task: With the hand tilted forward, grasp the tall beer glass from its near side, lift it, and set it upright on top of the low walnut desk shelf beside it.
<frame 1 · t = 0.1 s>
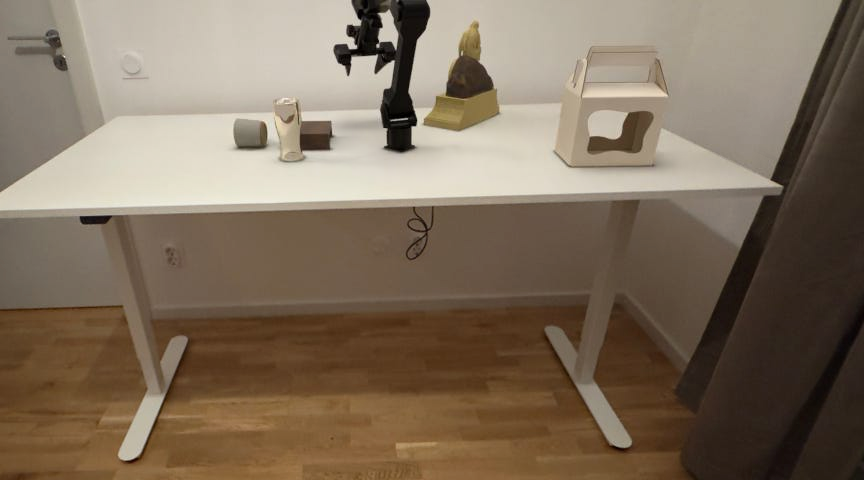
hand: (361, 74, 168), 15 cm above the table, tool tilted 35°, fingers open, 9 cm apart
desk shelf: (312, 142, 155), on the table
tan and brown statue: (462, 119, 179), on the table
gable box: (601, 158, 143), on the table
beer glass: (292, 158, 143), on the table
ceramic mug: (252, 145, 154), on the table
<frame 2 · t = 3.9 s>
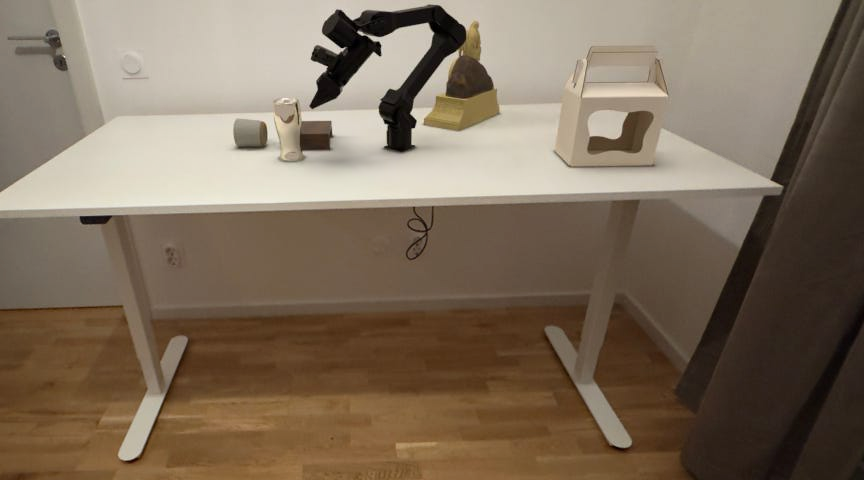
hand: (314, 103, 139), 14 cm above the table, tool tilted 45°, fingers open, 9 cm apart
nothing on the table moved.
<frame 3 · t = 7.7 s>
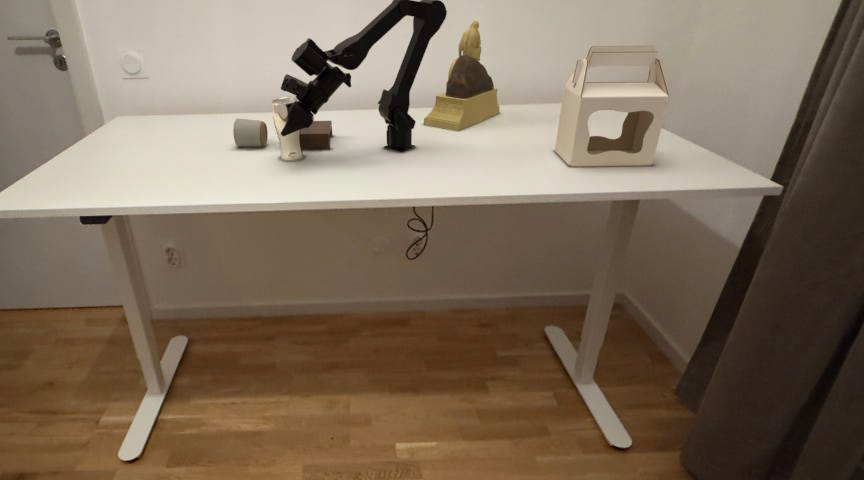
hand: (283, 131, 139), 7 cm above the table, tool tilted 45°, fingers closed on beer glass, 6 cm apart
beer glass: (292, 157, 143), on the table, touching gripper
everything else where it was.
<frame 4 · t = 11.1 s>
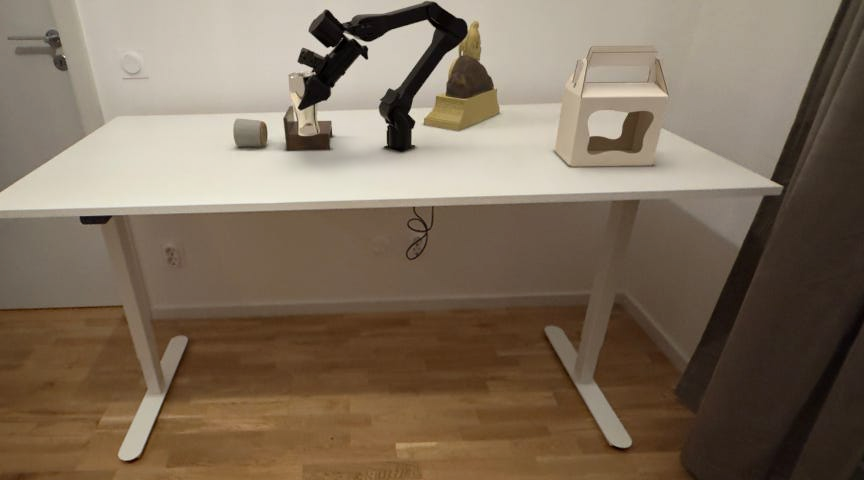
hand: (300, 106, 138), 13 cm above the table, tool tilted 45°, fingers closed on beer glass, 6 cm apart
beer glass: (308, 133, 142), point 6 cm above the table, touching gripper
everything else where it was.
when the fingers open (12 cm above the table, at t = 14.9 s): beer glass stays where it is, resting on desk shelf.
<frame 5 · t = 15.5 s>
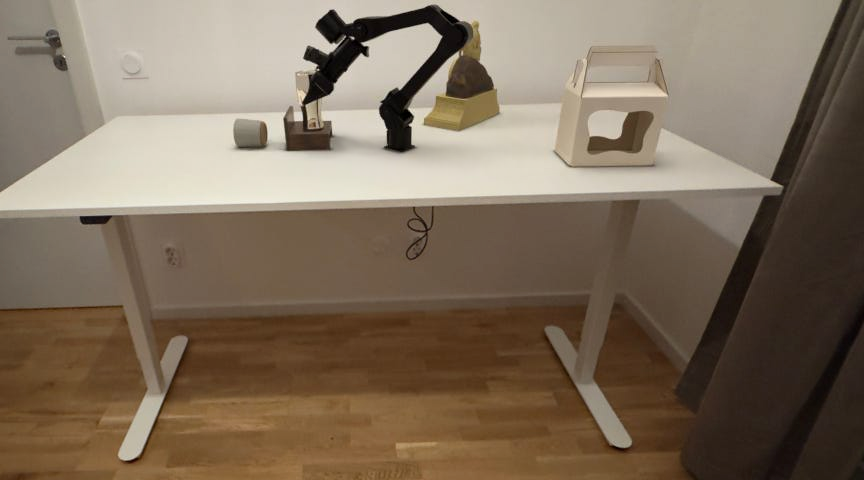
hand: (305, 100, 148), 12 cm above the table, tool tilted 45°, fingers open, 9 cm apart
beer glass: (313, 128, 152), point 5 cm above the table, touching desk shelf, gripper
everything else where it was.
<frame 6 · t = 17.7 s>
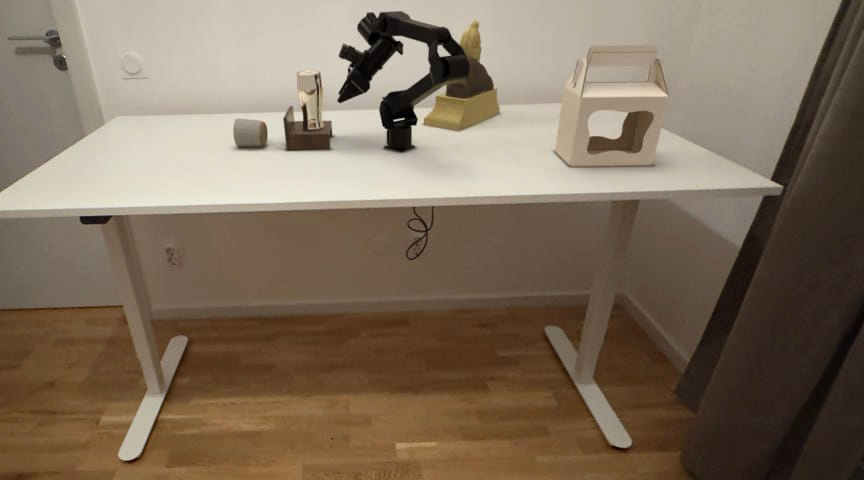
hand: (338, 98, 148), 13 cm above the table, tool tilted 45°, fingers open, 9 cm apart
beer glass: (313, 128, 152), point 4 cm above the table, touching desk shelf
everything else where it was.
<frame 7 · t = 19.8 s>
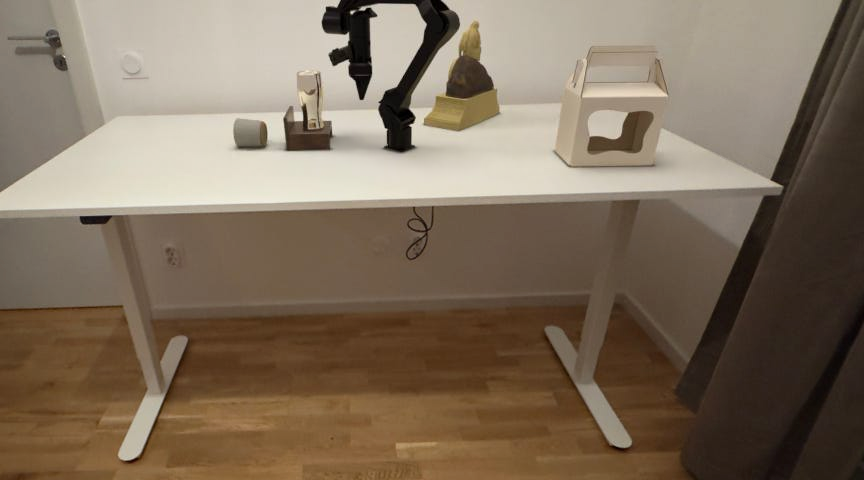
hand: (361, 96, 149), 13 cm above the table, tool pointing down, fingers open, 9 cm apart
nothing on the table moved.
at the end: beer glass inside the target area (0.5 cm from its centre), point 4.4 cm above the table; beer glass tilted 0°; the gripper is holding nothing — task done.
